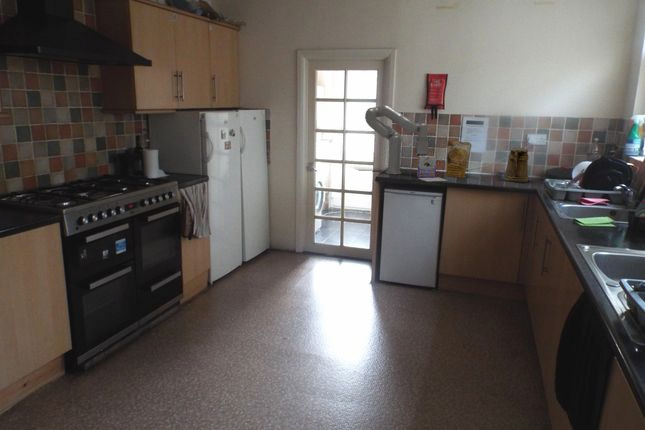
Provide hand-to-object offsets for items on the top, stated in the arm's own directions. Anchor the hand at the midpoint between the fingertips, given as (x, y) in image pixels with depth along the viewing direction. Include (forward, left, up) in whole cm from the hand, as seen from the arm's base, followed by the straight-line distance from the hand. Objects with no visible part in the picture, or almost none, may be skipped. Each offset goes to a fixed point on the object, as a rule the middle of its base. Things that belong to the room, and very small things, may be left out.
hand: (420, 162), depth 385 cm
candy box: (+11, 0, -10) cm, 15 cm away
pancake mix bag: (+11, +26, -10) cm, 30 cm away
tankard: (+36, +63, -10) cm, 73 cm away
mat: (+22, 0, -10) cm, 24 cm away
